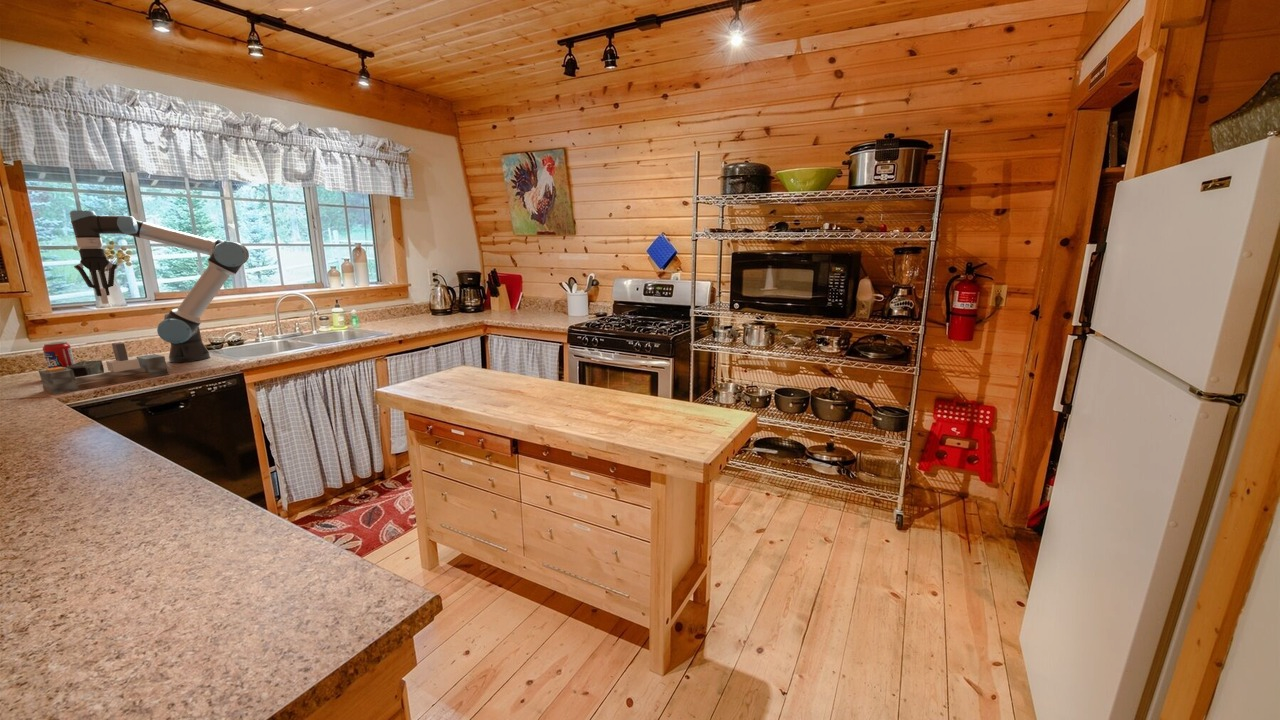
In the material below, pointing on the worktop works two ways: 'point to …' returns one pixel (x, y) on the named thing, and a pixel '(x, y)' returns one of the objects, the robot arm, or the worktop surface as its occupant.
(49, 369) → the plunger
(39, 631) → the worktop surface
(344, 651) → the worktop surface
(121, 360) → the carriage
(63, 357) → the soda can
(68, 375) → the rail stand
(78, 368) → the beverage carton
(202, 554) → the worktop surface
